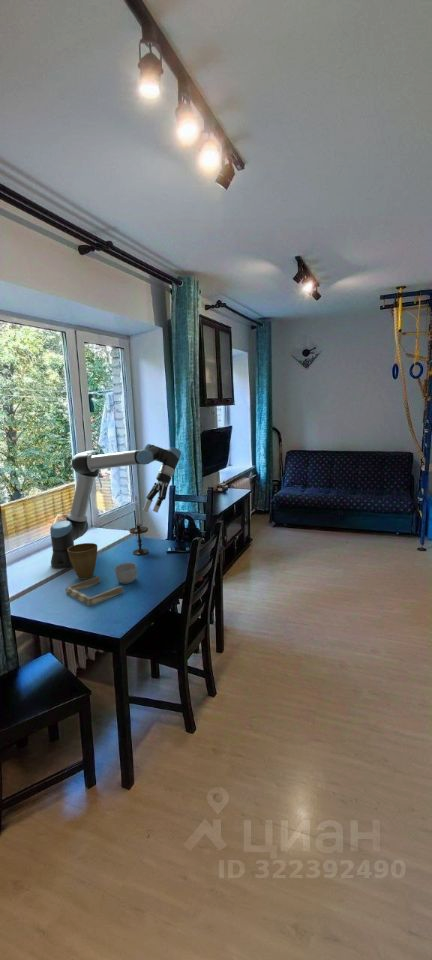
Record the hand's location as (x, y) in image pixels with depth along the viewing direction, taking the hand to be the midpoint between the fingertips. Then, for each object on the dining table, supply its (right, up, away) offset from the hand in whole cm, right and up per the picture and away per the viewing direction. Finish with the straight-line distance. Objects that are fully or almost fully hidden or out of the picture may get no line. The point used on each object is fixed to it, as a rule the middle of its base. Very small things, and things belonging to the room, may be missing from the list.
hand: (149, 511), depth 236 cm
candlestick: (-10, -27, +30) cm, 42 cm away
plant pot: (-33, -34, -2) cm, 47 cm away
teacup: (-10, -34, -9) cm, 37 cm away
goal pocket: (-22, -37, -22) cm, 49 cm away
